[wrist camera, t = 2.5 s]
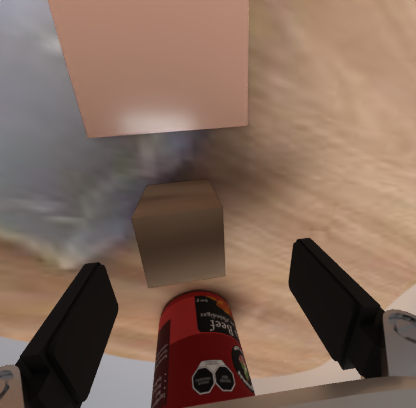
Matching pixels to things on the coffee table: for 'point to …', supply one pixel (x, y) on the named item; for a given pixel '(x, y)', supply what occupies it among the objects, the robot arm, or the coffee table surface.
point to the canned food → (198, 354)
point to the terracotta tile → (156, 63)
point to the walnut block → (180, 233)
